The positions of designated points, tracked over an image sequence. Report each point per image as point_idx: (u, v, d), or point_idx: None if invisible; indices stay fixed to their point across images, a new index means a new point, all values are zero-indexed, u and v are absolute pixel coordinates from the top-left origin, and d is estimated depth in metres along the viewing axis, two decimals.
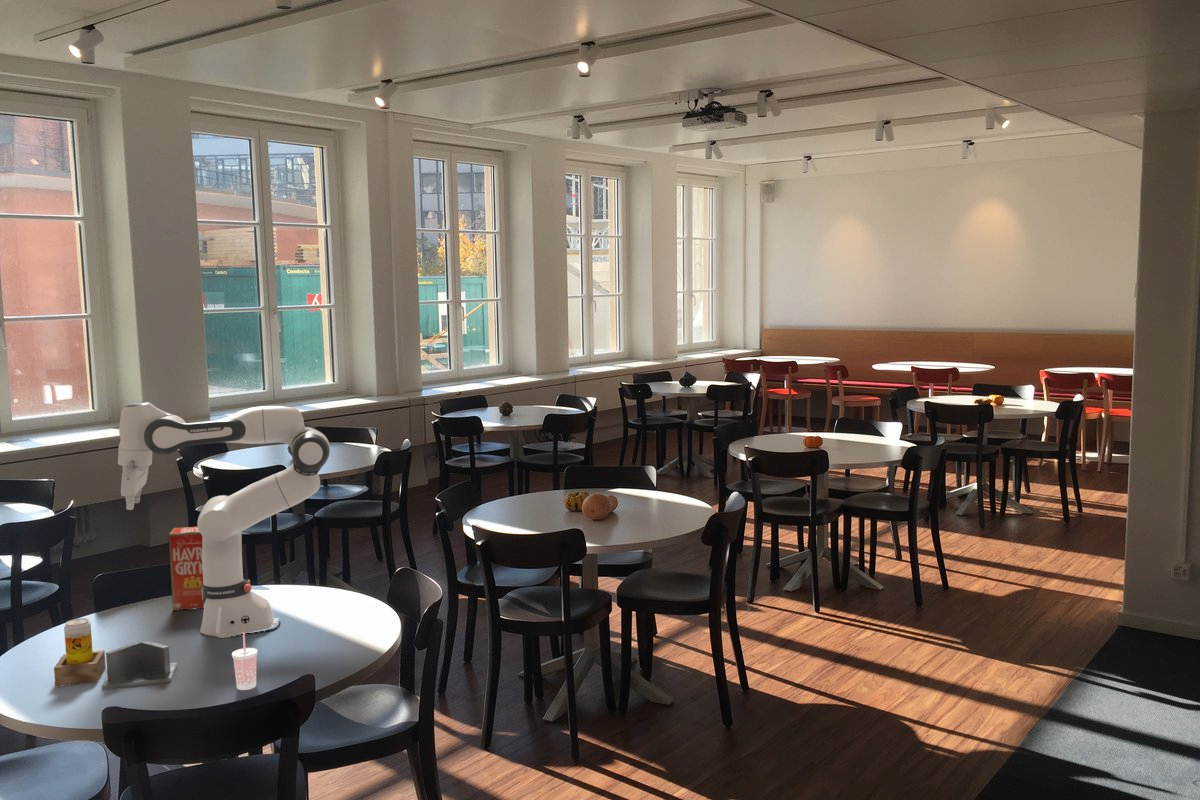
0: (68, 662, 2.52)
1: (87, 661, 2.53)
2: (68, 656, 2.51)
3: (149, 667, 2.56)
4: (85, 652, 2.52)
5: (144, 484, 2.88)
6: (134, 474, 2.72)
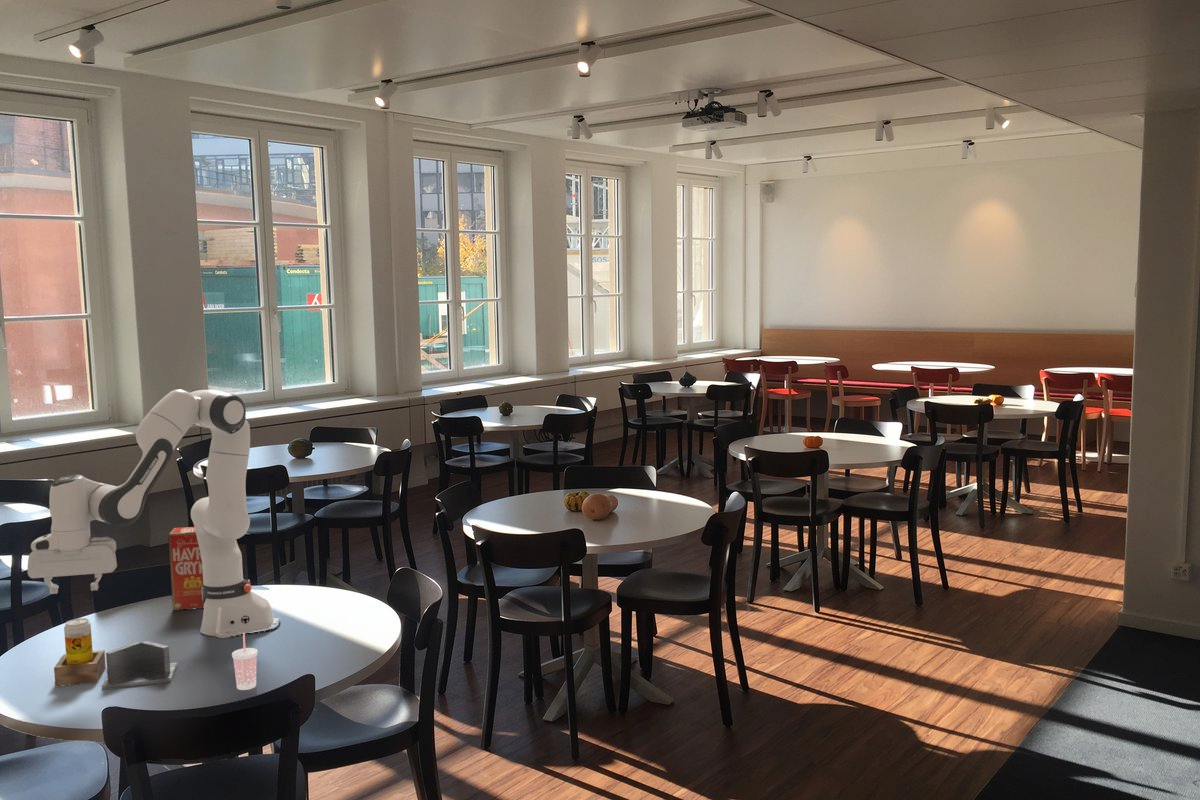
0: (68, 662, 2.52)
1: (87, 661, 2.53)
2: (68, 656, 2.51)
3: (149, 667, 2.56)
4: (85, 652, 2.52)
5: None
6: None
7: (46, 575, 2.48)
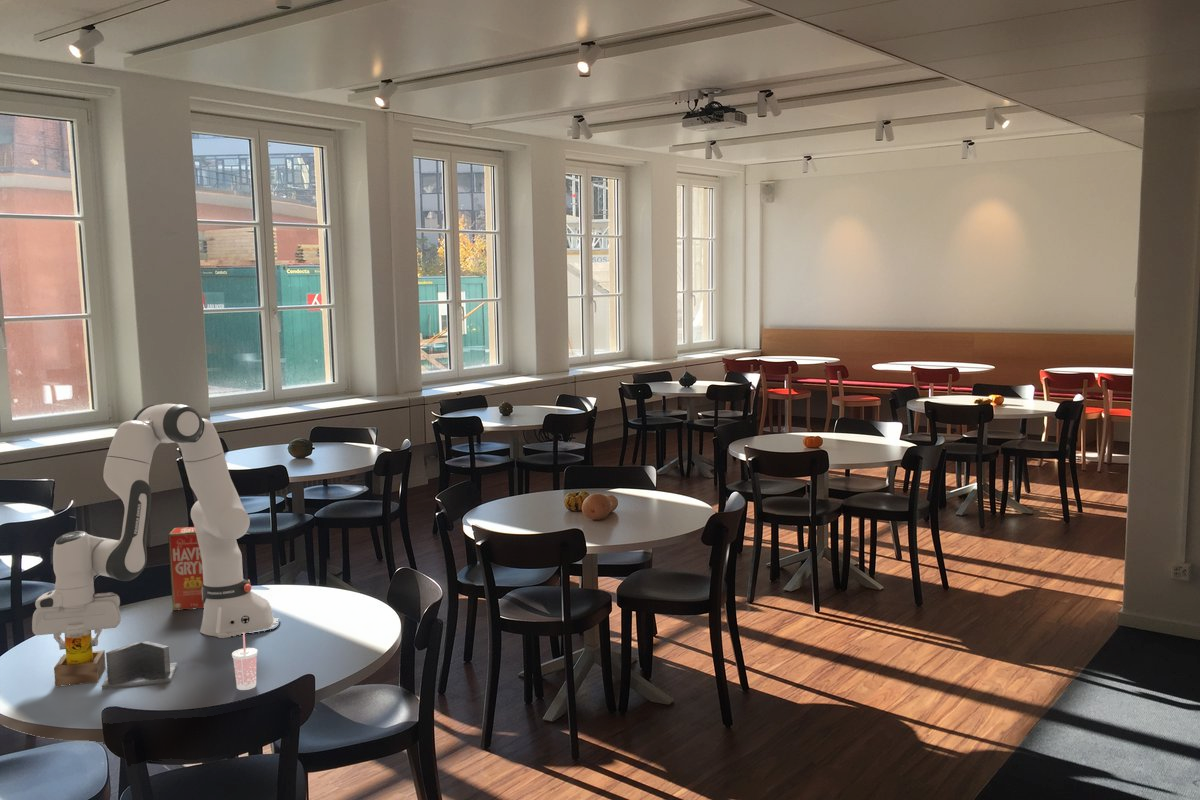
0: (68, 662, 2.52)
1: (87, 661, 2.53)
2: (68, 656, 2.51)
3: (149, 667, 2.56)
4: (85, 652, 2.52)
5: None
6: None
7: (51, 632, 2.50)
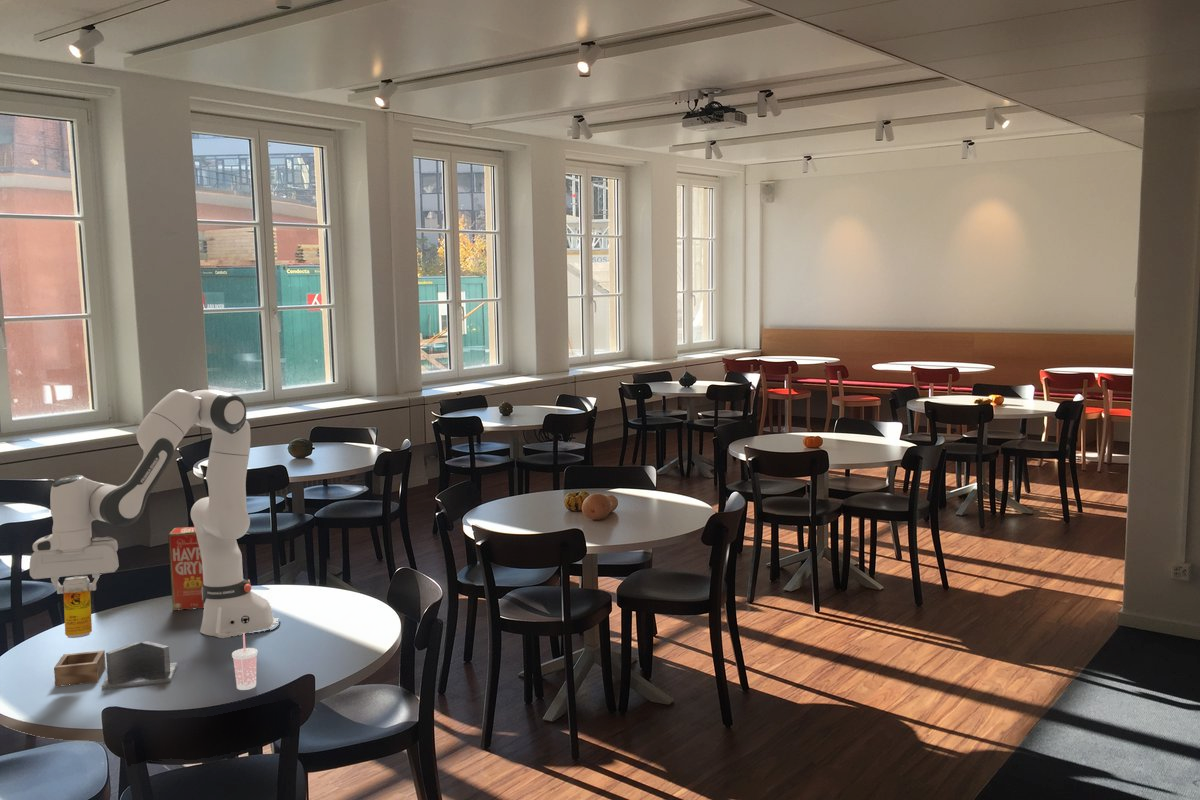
0: (66, 618, 2.50)
1: (85, 617, 2.51)
2: (66, 612, 2.50)
3: (149, 667, 2.56)
4: (84, 608, 2.51)
5: None
6: None
7: (48, 576, 2.48)
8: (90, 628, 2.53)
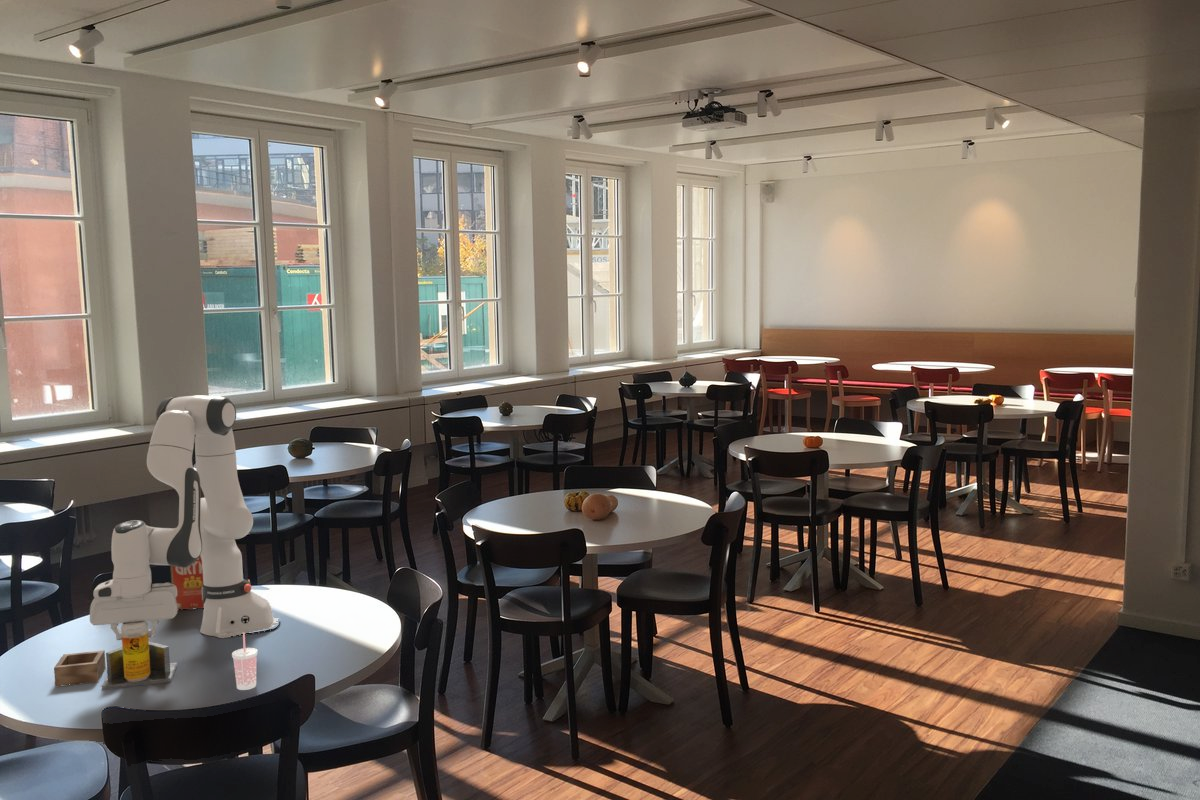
0: (125, 663, 2.48)
1: (144, 661, 2.49)
2: (125, 656, 2.47)
3: None
4: (143, 652, 2.49)
5: None
6: None
7: (108, 622, 2.47)
8: (149, 671, 2.51)
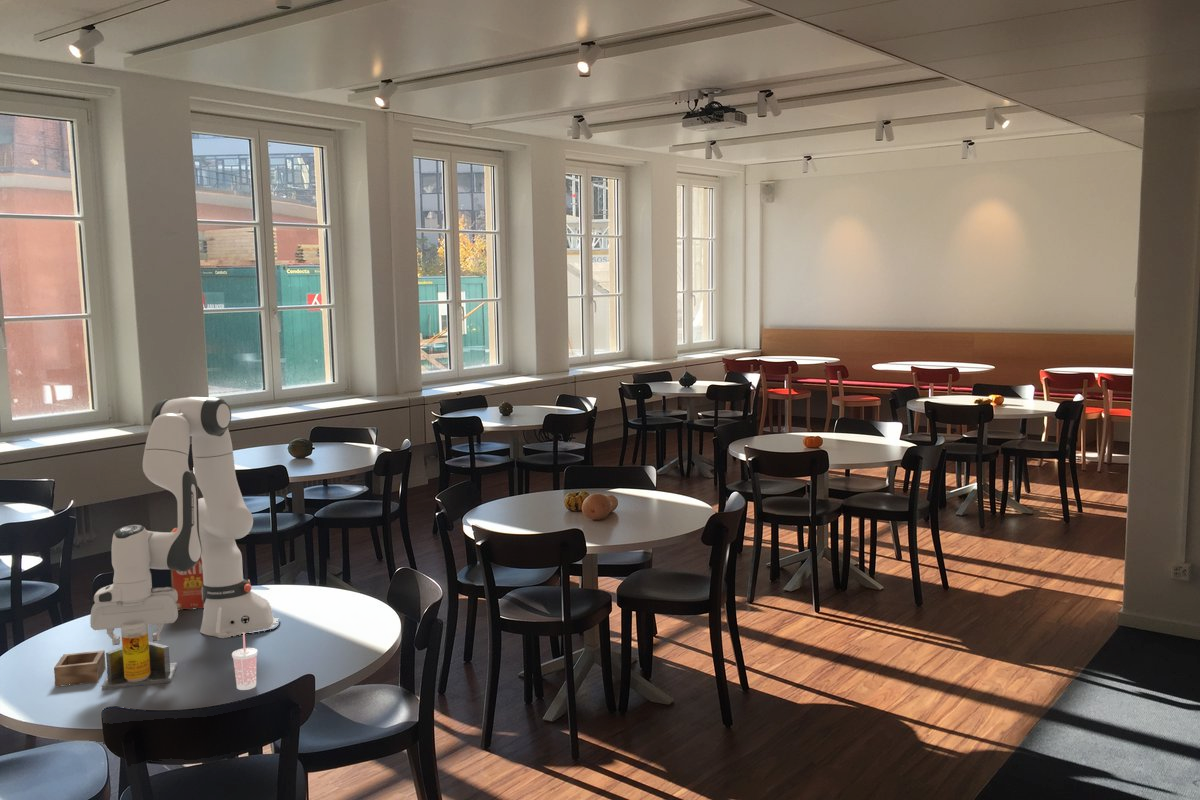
0: (125, 663, 2.48)
1: (144, 661, 2.49)
2: (125, 656, 2.47)
3: None
4: (143, 652, 2.49)
5: None
6: None
7: (109, 627, 2.47)
8: (149, 671, 2.51)
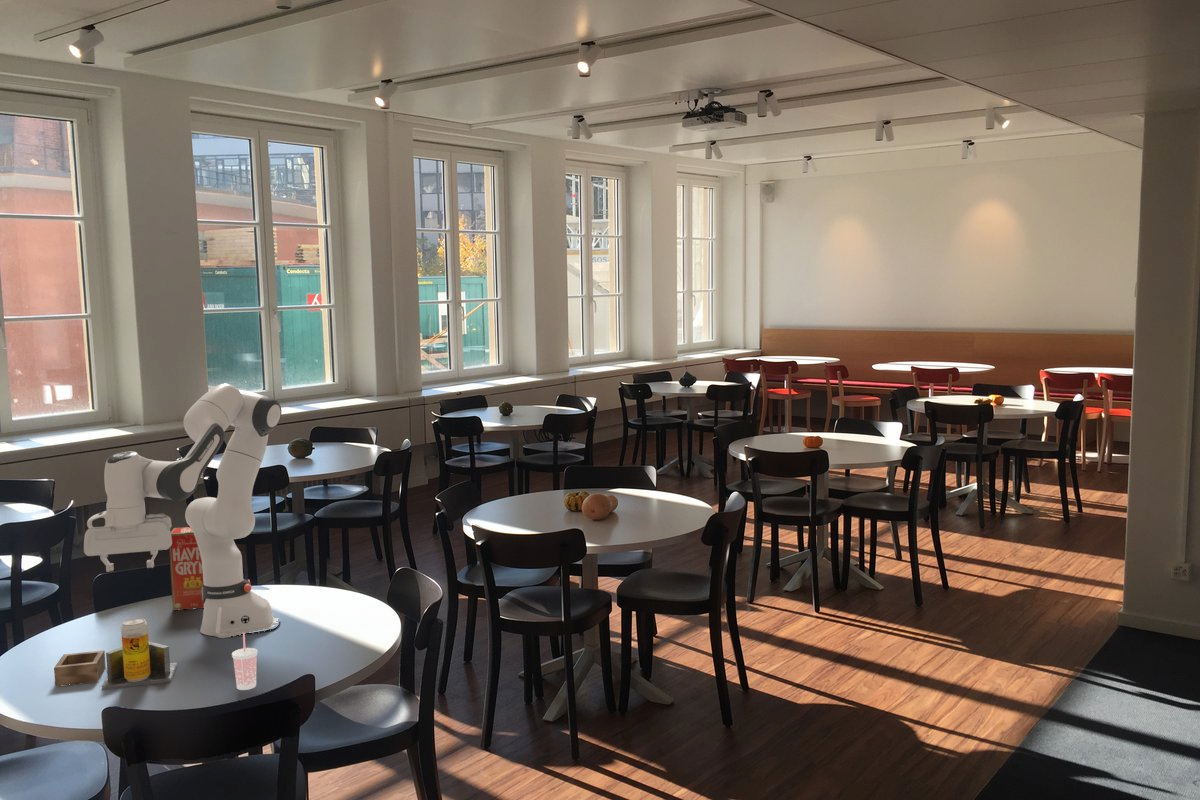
0: (125, 663, 2.48)
1: (144, 661, 2.49)
2: (125, 656, 2.47)
3: None
4: (143, 652, 2.49)
5: None
6: None
7: (102, 553, 2.46)
8: (149, 671, 2.51)
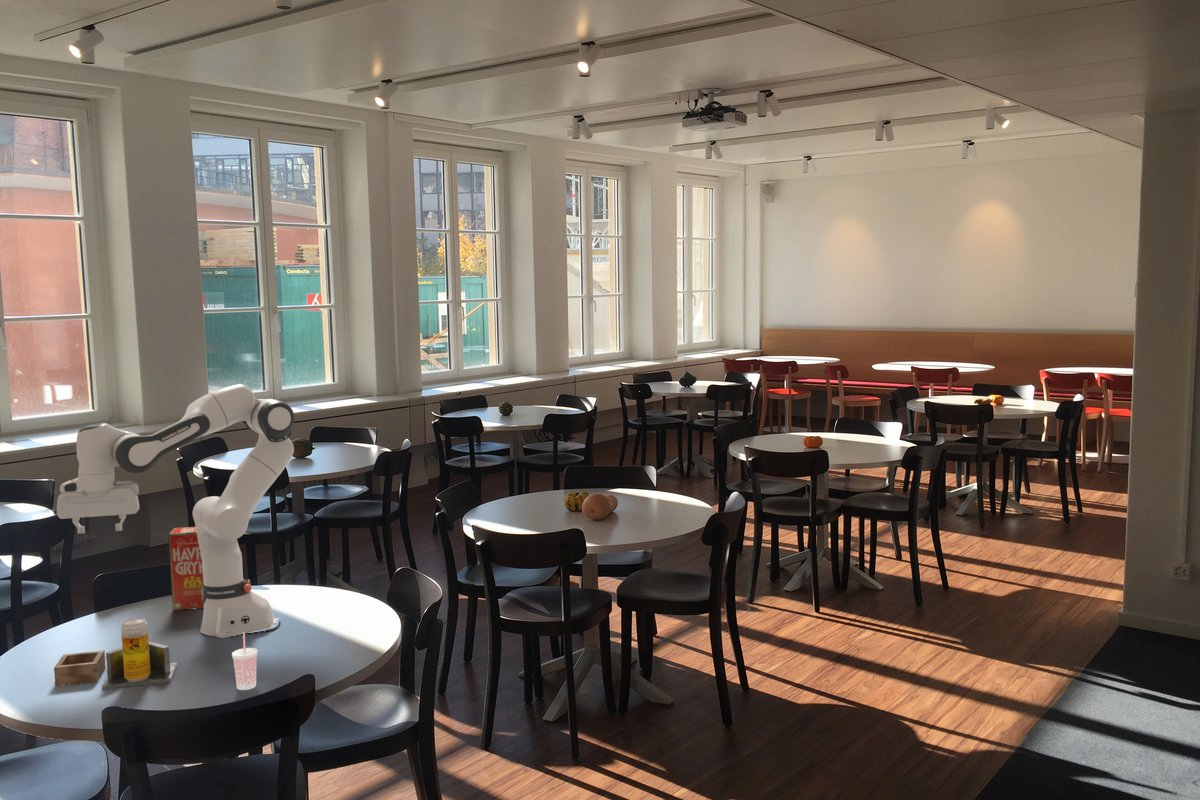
0: (125, 663, 2.48)
1: (144, 661, 2.49)
2: (125, 656, 2.47)
3: None
4: (143, 652, 2.49)
5: None
6: None
7: (74, 516, 2.66)
8: (149, 671, 2.51)
